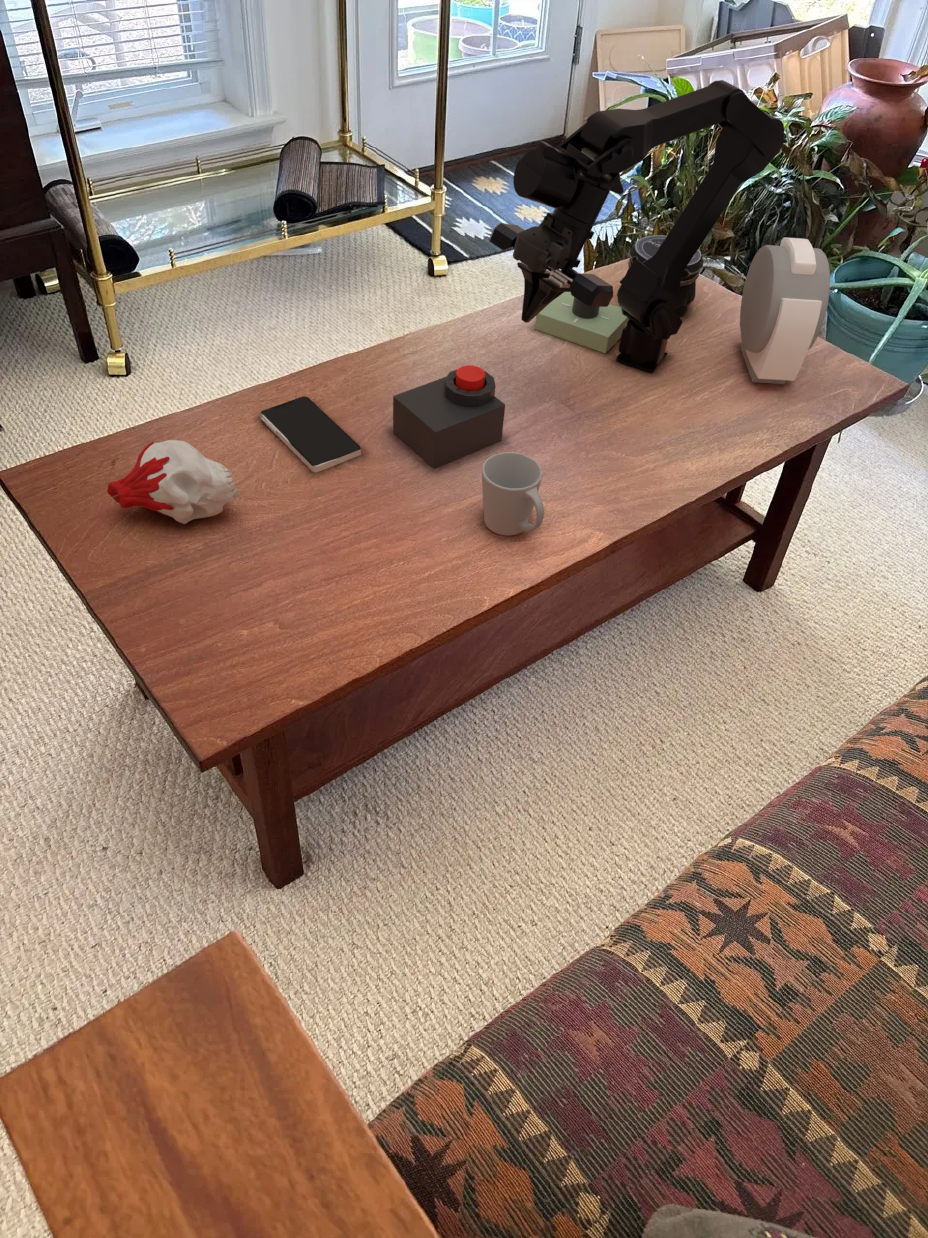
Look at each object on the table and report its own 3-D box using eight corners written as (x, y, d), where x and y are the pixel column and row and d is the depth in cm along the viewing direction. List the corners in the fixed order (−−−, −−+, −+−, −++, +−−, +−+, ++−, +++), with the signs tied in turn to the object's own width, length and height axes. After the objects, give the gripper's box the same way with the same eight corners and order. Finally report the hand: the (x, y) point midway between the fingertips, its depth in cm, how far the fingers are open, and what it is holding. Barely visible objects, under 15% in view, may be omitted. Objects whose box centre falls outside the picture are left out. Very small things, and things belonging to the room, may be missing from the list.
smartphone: (312, 467, 127) (257, 411, 135) (313, 474, 128) (258, 418, 136) (363, 447, 131) (306, 394, 139) (363, 454, 132) (307, 401, 140)
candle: (246, 517, 121) (129, 555, 117) (225, 464, 127) (114, 499, 124) (229, 462, 114) (104, 501, 110) (207, 410, 120) (89, 445, 117)
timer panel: (629, 327, 160) (633, 310, 157) (605, 353, 154) (608, 336, 151) (561, 304, 164) (563, 287, 161) (534, 328, 158) (536, 311, 155)
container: (698, 296, 168) (712, 241, 161) (683, 330, 160) (697, 274, 153) (629, 280, 171) (639, 225, 164) (610, 312, 163) (620, 256, 155)
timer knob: (602, 310, 157) (607, 282, 154) (591, 321, 154) (596, 293, 151) (579, 302, 158) (583, 274, 155) (567, 313, 156) (571, 285, 152)
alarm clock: (799, 398, 148) (844, 275, 133) (745, 394, 148) (785, 271, 133) (776, 337, 160) (815, 219, 145) (726, 334, 160) (760, 215, 145)
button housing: (464, 404, 141) (468, 357, 136) (506, 438, 136) (512, 391, 130) (392, 432, 136) (393, 384, 130) (433, 469, 130) (435, 420, 125)
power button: (472, 372, 134) (473, 361, 132) (490, 386, 132) (491, 375, 130) (449, 381, 132) (450, 370, 131) (467, 395, 130) (467, 384, 128)
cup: (510, 496, 127) (516, 444, 121) (558, 538, 122) (568, 486, 116) (465, 516, 124) (469, 464, 118) (513, 560, 119) (520, 508, 113)
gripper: (491, 176, 124) (445, 287, 133) (601, 245, 118) (546, 357, 127) (534, 185, 133) (488, 289, 141) (638, 249, 127) (584, 354, 135)
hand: (524, 321), depth 136 cm, fingers closed
